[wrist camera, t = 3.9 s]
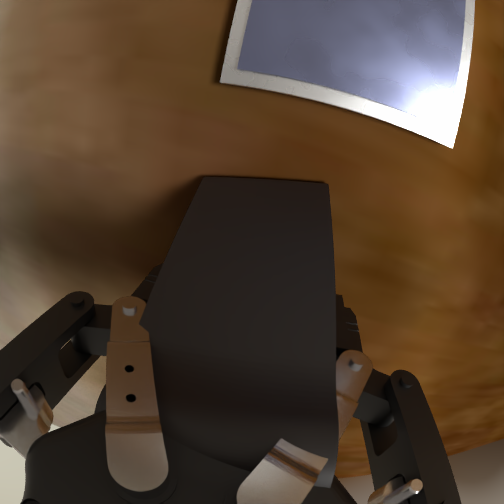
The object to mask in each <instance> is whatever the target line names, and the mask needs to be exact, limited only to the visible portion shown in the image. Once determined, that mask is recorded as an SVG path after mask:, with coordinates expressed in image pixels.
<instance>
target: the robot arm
mask: <svg viewBox="0 0 504 504" xmlns="http://www.w3.org/2000/svg"><path fill="white" fill-rule="evenodd" d="M162 265H163V263H162V264H160V265H158V266H156V267H154V268H153V270H152V271H151V272H150V273H149V275H148V276H147V277H146V278H145V280H144V281H143V282H142V283H141V284H140V285H139V287H138V288H137V289H136V290H135V292H134V293H133V294H132V295H131V296H126V297H122V298H119V299H118V300H116V301H115V302H114V303H113V305H99V304H94V299H93V297H92V296H91V295H90V294H89V293H86V292H81V291H78V292H72V293H70V294H68V295H66V296H65V297H64V298H62V299H61V300H60V301H59V302H57V303H56V304H55V305H54V306H52V307H51V308H50V309H49V310H47V311H46V312H45V313H44V314H43V315H41V316H40V317H39V318H38V319H36V320H35V321H34V322H33V323H32V324H30V325H29V326H28V327H27V328H26V329H25V330H23V331H22V332H21V333H20V334H19V335H17V336H16V337H15V338H14V339H13V340H12V341H11V342H9V343H8V344H7V345H6V346H5V347H4V348H3V349H2V350H0V440H1V441H2V442H3V443H4V444H6V445H7V446H9V447H13V448H14V449H15V450H16V451H17V452H18V453H20V454H21V455H22V456H23V457H24V458H25V459H26V461H25V473H26V482H25V491H24V496H23V499H22V502H21V503H20V504H357V503H356V501H354V499H353V498H352V496H351V495H350V494H349V493H348V492H347V490H346V489H345V488H344V486H343V485H342V484H341V483H340V481H339V480H338V479H337V477H336V476H335V475H334V477H333V480H332V484H331V487H330V488H326V487H318V486H314V484H315V482H316V480H317V478H318V476H319V474H320V472H321V470H322V469H323V467H324V465H325V464H326V462H327V461H328V459H327V458H324V457H320V456H318V455H315V454H312V453H310V452H307V451H305V450H302V449H300V448H298V447H296V446H294V445H292V444H290V443H288V442H287V441H285V440H283V439H282V438H281V439H280V440H279V441H278V443H277V444H276V445H275V446H274V448H273V449H272V450H271V451H270V452H269V453H268V454H267V455H266V456H265V457H264V459H263V460H262V461H261V462H260V463H259V465H258V466H257V467H256V468H255V469H254V470H253V471H252V472H250V471H246V470H243V469H240V468H237V467H234V466H231V465H229V464H226V463H223V462H220V461H218V460H215V459H213V458H211V457H208V456H206V455H203V454H201V453H199V452H197V451H195V450H193V449H191V448H189V447H187V446H185V445H183V444H181V443H179V442H177V441H175V440H173V439H172V438H170V437H168V436H167V435H165V434H163V433H162V429H161V424H160V419H159V412H158V406H157V399H156V391H155V384H154V375H153V367H152V357H151V347H150V340H149V332H148V331H146V330H145V329H144V328H143V327H142V326H140V325H139V322H140V319H141V317H142V314H143V311H144V309H145V306H146V304H147V301H148V299H149V296H150V294H151V292H152V289H153V287H154V284H155V282H156V280H157V277H158V275H159V272H160V270H161V268H162ZM358 331H359V330H358V326H357V320H356V316H355V314H354V313H353V312H352V310H351V309H350V308H346V307H344V303H343V298H342V295H338V294H336V395H337V409H338V419H339V440H340V438H341V436H342V435H343V433H344V431H345V429H346V427H347V426H348V424H349V422H350V420H351V418H352V416H353V417H355V418H358V419H360V422H361V427H362V431H363V436H364V440H365V445H366V449H367V454H368V459H369V464H370V469H371V474H372V479H373V484H374V490H375V491H374V492H373V493H372V494H371V495H370V497H369V499H368V504H461V501H460V497H459V493H458V490H457V486H456V483H455V479H454V476H453V473H452V470H451V466H450V463H449V460H448V458H447V454H446V451H445V448H444V445H443V443H442V440H441V437H440V434H439V432H438V429H437V426H436V423H435V421H434V418H433V416H432V413H431V410H430V408H429V405H428V403H427V400H426V398H425V395H424V393H423V391H422V388H421V386H420V383H419V381H418V380H417V378H416V377H415V376H414V375H413V374H411V373H410V372H408V371H405V370H396V371H394V372H393V373H392V374H391V376H388V375H386V374H383V373H381V372H379V371H377V370H375V369H373V365H372V362H371V360H370V359H369V357H368V356H366V355H365V354H364V353H363V351H362V346H361V340H360V335H359V332H358ZM70 339H71V340H70ZM69 340H70V341H69ZM68 341H69V342H68ZM67 342H68V343H67ZM66 343H67V344H66ZM65 344H66V345H65ZM64 345H65V346H64ZM63 346H64V347H63ZM62 347H63V348H62ZM61 348H62V349H61ZM60 349H61V350H60ZM101 355H102V356H107V361H106V410H103V411H100V412H98V413H95V414H93V415H91V416H88V417H86V418H83V419H81V420H79V421H76V422H74V423H71V424H69V425H66V426H64V427H61V428H59V429H56V430H53V431H51V432H48V431H49V430H50V426H51V424H52V422H53V412H52V410H53V408H54V407H55V406H56V405H57V404H58V403H59V402H60V400H61V399H62V398H63V397H64V396H65V395H66V394H67V392H68V391H69V390H70V389H71V388H72V387H73V386H74V385H75V383H76V382H77V381H78V380H79V379H80V378H81V377H82V376H83V374H84V373H85V372H86V371H87V370H88V369H89V368H90V367H91V366H92V365H93V363H94V362H95V361H96V360H97V359H98V358H99V357H100V356H101Z"/></svg>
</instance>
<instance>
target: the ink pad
mask: <svg viewBox="0 0 504 504" xmlns="http://www.w3.org/2000/svg"><path fill="white" fill-rule="evenodd" d="M474 6H475V0H238V1H237V5H236V10H235V14H234V18H233V22H232V27H231V31H230V36H229V40H228V45H227V50H226V54H225V59H224V64H223V69H222V74H221V79H220V83H223V84H228V85H235V86H242V87H248V88H254V89H260V90H266V91H271V92H276V93H281V94H286V95H291V96H295V97H300V98H304V99H308V100H312V101H316V102H320V103H324V104H328V105H332V106H335V107H339V108H342V109H346V110H349V111H352V112H356V113H359V114H362V115H365V116H368V117H372V118H375V119H378V120H381V121H383V122H386V123H389V124H392V125H395V126H397V127H400V128H403V129H405V130H408V131H411V132H413V133H416V134H418V135H421V136H423V137H426V138H428V139H430V140H433V141H435V142H437V143H440V144H442V145H444V146H447V147H450V148H452V147H453V144H454V140H455V136H456V132H457V128H458V123H459V119H460V115H461V110H462V105H463V100H464V95H465V90H466V84H467V78H468V71H469V64H470V57H471V48H472V38H473V26H474Z"/></svg>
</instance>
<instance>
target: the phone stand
mask: <svg viewBox="0 0 504 504" xmlns="http://www.w3.org/2000/svg"><path fill="white" fill-rule="evenodd" d="M139 325H140V326H142V327H143V328H144V329H145V330H146V331H148V332H149V340H150V347H151V357H152V367H153V375H154V384H155V391H156V399H157V406H158V412H159V419H160V424H161V429H162V433H163V434H165V435H167V436H168V437H170V438H172V439H173V440H175V441H177V442H179V443H181V444H183V445H185V446H187V447H189V448H191V449H193V450H195V451H197V452H199V453H201V454H203V455H206V456H208V457H211V458H213V459H215V460H218V461H220V462H223V463H226V464H229V465H231V466H234V467H237V468H240V469H243V470H246V471H250V472H252V471H253V470H254V469H255V468H256V467H257V466H258V465H259V463H260V462H261V461H262V460H263V459H264V457H265V456H266V455H267V454H268V453H269V452H270V451H271V450H272V449H273V448H274V446H275V445H276V444H277V443H278V441H279V440H280V439H281V438H282V439H283V440H285V441H287V442H288V443H290V444H292V445H294V446H296V447H298V448H300V449H302V450H305V451H307V452H310V453H312V454H315V455H318V456H320V457H324V458H327V459H328V461H327V462H326V464H325V465H324V467H323V469H322V470H321V472H320V474H319V476H318V478H317V480H316V482H315V484H314V486H318V487H326V488H330V487H331V484H332V480H333V477H334V472H335V467H336V461H337V454H338V443H339V419H338V409H337V395H336V293H335V267H334V248H333V233H332V219H331V207H330V196H329V185H328V184H325V183H314V182H301V181H288V180H273V179H255V178H232V177H203V179H202V181H201V183H200V185H199V187H198V189H197V191H196V194H195V196H194V198H193V200H192V202H191V204H190V206H189V208H188V210H187V212H186V214H185V216H184V219H183V221H182V223H181V225H180V227H179V229H178V232H177V234H176V236H175V238H174V240H173V243H172V245H171V247H170V249H169V252H168V254H167V256H166V258H165V261H164V263H163V265H162V268H161V270H160V272H159V275H158V277H157V280H156V282H155V284H154V287H153V289H152V292H151V294H150V296H149V299H148V301H147V304H146V306H145V309H144V311H143V314H142V317H141V319H140V322H139ZM103 410H106V384H105V386H104V388H103V389H102V391H101V394H100V396H99V398H98V401H97V404H96V408H95V413H98V412H100V411H103ZM95 413H94V414H95Z"/></svg>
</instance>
